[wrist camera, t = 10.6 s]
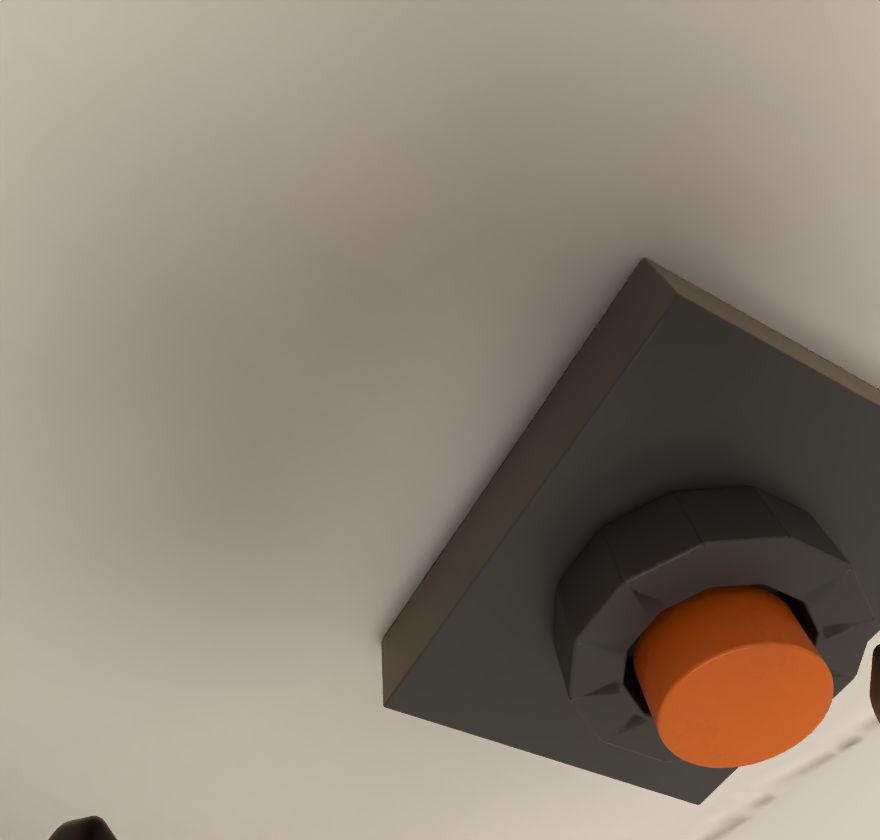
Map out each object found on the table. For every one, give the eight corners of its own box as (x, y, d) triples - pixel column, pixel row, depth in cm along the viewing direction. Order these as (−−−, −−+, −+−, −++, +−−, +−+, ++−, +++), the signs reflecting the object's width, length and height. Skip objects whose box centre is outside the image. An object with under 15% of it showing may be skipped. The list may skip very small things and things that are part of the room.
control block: (673, 740, 25) (723, 868, 21) (380, 642, 22) (384, 771, 18) (964, 437, 20) (1090, 537, 17) (643, 255, 17) (715, 332, 14)
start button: (724, 720, 19) (756, 786, 18) (600, 676, 18) (622, 742, 17) (828, 615, 18) (872, 677, 16) (700, 560, 17) (734, 621, 15)
